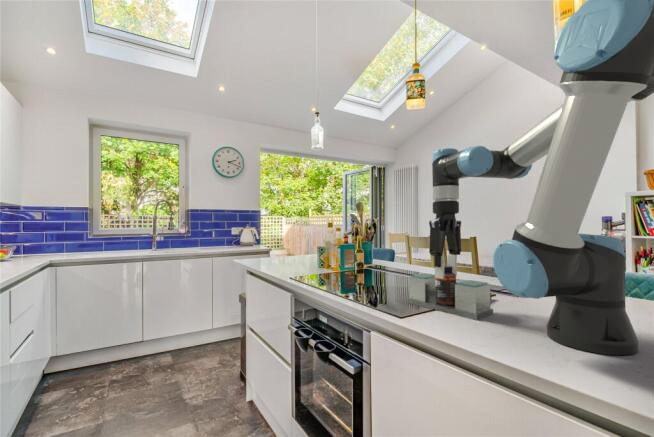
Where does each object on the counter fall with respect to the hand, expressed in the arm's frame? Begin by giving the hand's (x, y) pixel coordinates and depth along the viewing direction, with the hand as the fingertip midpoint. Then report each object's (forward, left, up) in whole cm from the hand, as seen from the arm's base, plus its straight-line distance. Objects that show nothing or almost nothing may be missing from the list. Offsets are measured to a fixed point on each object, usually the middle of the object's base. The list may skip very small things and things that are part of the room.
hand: (445, 276), depth 95 cm
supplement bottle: (0, 0, -8) cm, 8 cm away
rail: (0, 0, -10) cm, 10 cm away
